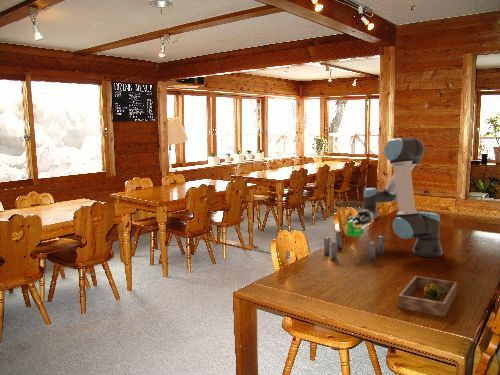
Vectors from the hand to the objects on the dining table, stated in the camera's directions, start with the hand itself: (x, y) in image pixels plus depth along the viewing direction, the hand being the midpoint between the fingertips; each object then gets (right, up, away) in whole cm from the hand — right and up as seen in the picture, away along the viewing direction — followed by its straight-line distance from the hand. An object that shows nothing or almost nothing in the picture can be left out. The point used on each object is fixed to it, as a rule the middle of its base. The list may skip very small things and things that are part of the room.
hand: (350, 224), depth 243 cm
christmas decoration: (+20, -26, -61) cm, 69 cm away
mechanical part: (+4, -6, +3) cm, 8 cm away
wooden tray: (+18, -26, -61) cm, 69 cm away
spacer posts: (+2, -18, +4) cm, 18 cm away
